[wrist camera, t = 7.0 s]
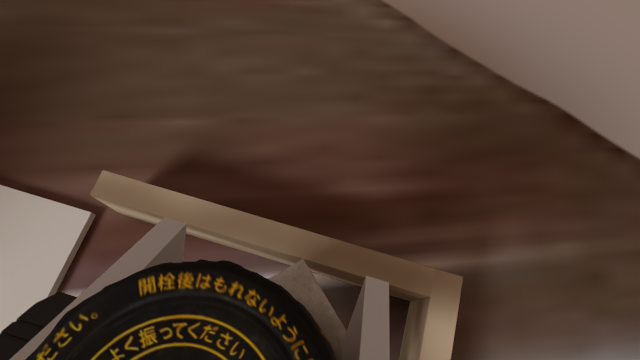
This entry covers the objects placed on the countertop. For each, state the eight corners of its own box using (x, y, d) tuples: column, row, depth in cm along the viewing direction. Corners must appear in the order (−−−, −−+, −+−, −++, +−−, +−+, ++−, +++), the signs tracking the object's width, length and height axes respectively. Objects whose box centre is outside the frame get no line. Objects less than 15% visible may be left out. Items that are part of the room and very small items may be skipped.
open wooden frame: (132, 192, 25) (102, 170, 22) (438, 284, 24) (463, 276, 20) (13, 433, 20) (-51, 457, 17) (390, 561, 19) (411, 618, 16)
